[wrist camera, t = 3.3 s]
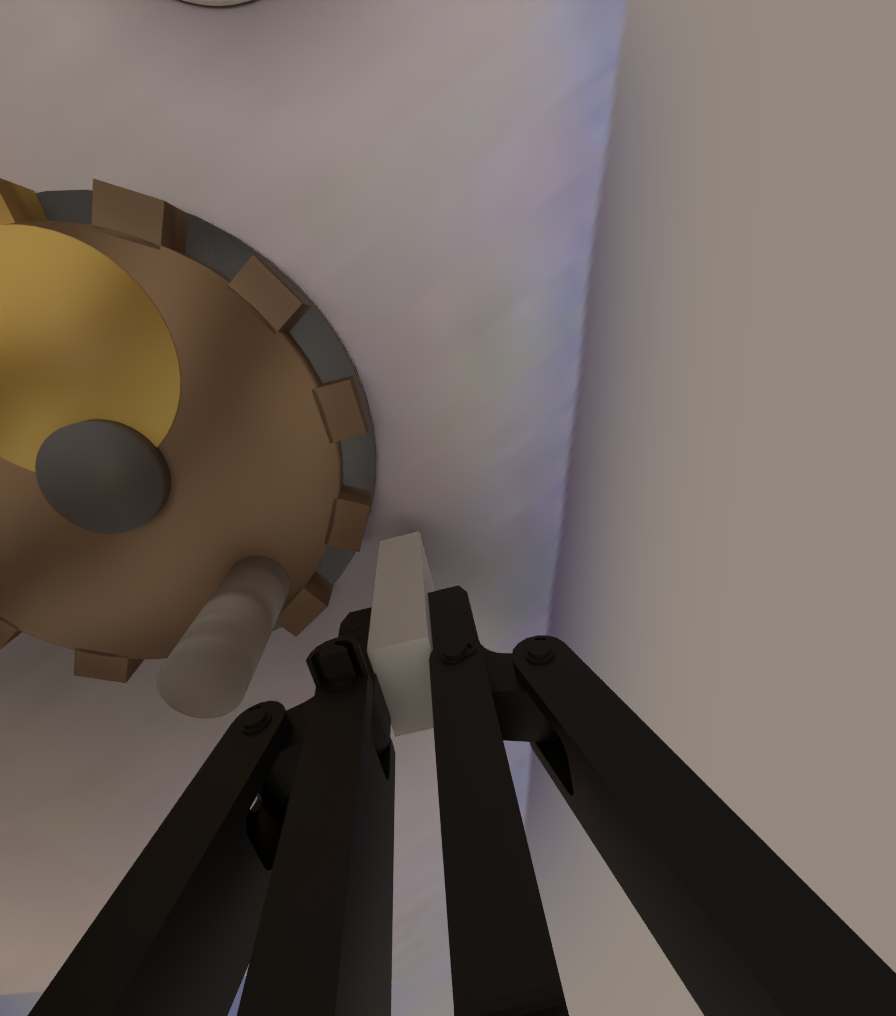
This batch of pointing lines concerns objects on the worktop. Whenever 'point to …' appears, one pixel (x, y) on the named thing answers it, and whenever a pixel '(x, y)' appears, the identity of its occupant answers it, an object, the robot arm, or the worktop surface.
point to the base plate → (308, 331)
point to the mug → (216, 2)
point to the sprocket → (160, 450)
